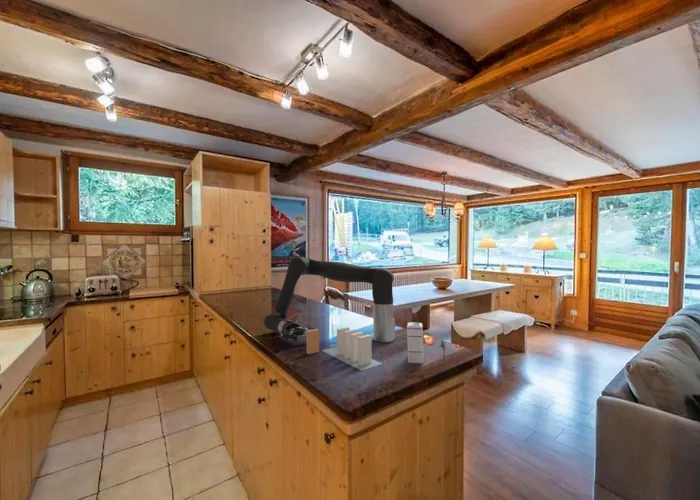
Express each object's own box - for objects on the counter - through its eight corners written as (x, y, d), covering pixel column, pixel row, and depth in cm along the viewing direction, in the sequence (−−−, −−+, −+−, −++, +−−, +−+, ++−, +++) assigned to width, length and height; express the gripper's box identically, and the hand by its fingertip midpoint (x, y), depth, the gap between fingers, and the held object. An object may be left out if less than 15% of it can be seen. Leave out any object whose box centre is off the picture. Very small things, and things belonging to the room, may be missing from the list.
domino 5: (368, 361, 113) (368, 334, 113) (371, 362, 111) (371, 335, 111) (358, 364, 110) (358, 336, 110) (361, 365, 108) (360, 337, 108)
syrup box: (423, 366, 110) (423, 326, 110) (407, 365, 111) (406, 325, 111) (423, 360, 116) (422, 322, 116) (407, 359, 117) (407, 321, 117)
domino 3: (354, 354, 120) (353, 329, 120) (356, 355, 119) (356, 330, 118) (343, 357, 117) (343, 331, 117) (346, 358, 116) (345, 332, 115)
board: (341, 347, 131) (341, 345, 131) (382, 366, 110) (382, 363, 110) (321, 352, 125) (321, 350, 125) (361, 373, 104) (361, 370, 104)
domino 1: (317, 353, 125) (317, 328, 125) (319, 354, 124) (319, 329, 123) (306, 355, 122) (306, 330, 122) (308, 356, 121) (308, 331, 120)
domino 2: (347, 351, 123) (347, 326, 123) (349, 352, 122) (349, 327, 122) (337, 354, 120) (336, 329, 120) (339, 355, 119) (339, 329, 119)
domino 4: (361, 357, 116) (360, 331, 116) (363, 359, 115) (363, 332, 115) (350, 360, 113) (350, 334, 113) (353, 362, 112) (353, 335, 112)
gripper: (274, 323, 136) (290, 330, 123) (302, 318, 145) (320, 325, 132) (274, 339, 136) (290, 349, 123) (302, 334, 145) (320, 342, 132)
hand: (305, 336), depth 128 cm, fingers open, 8 cm apart
